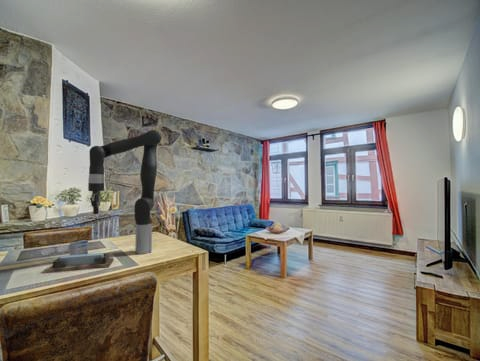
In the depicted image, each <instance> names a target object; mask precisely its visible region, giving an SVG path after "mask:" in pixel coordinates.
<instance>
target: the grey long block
mask: <svg viewBox="0 0 480 361" xmlns="http://www.w3.org/2000/svg"><path fill="white" fill-rule="evenodd" d="M104 254H105V253H104V252H99V253H97V252H94V253H88V254H82V255H70V254H69V255H61V256H60V257H61V258H60V260H59V261H63V260H66V266H71V265H82V264H94V258H100V257H104Z"/></svg>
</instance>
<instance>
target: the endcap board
mask: <svg viewBox="0 0 480 361" xmlns="http://www.w3.org/2000/svg"><path fill="white" fill-rule="evenodd" d="M61 257H62V256H59V257H58V258H56V259H55V260H53V261H52V265H51V266H49V267H48V268H46V270H45V273H46V274H49V273H50V274H51V273H60V272H70V271H81V270H94V268H95V269H102V268H103V269H105V268H110V267H111V265H112V264H113V262H114V257H110V253H109V252H107V253H104V257H100V258H94V264H82V265H71V266H66V260H63V261H59V260H60V258H61Z"/></svg>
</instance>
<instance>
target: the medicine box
mask: <svg viewBox="0 0 480 361" xmlns="http://www.w3.org/2000/svg"><path fill="white" fill-rule="evenodd" d="M88 250H89V240H88V239H86V240H85V239H83V240H82V239H81V240H78V241H74V242H71V243H69V255H82V254H89V253H88V252H89V251H88Z"/></svg>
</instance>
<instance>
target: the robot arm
mask: <svg viewBox="0 0 480 361" xmlns="http://www.w3.org/2000/svg"><path fill="white" fill-rule="evenodd" d="M162 139H163V138H162V134H161V133H160V131H158V130H156V129H150V130H148V131H146V132H145V133H144V132H143V133H141V134H140V135H137V136H132V137H129V138H125V139H120V140H116V141H112V142H109V143H107V144H103V145H100V146H99V145H94V146H92V147H90V149H89V172H88V184H87V187H88V188H87V190H88V192H91V195H90V199H89V200H90V204H91V207H92V208H93V210H92V214H93V215H99V212H100V211H99V210H100V208H99V207H100V206H101V202H102V198H103V197H102V194H101V192H104V191H105V164H104V163H105V158H108V157H110V156H114V155H118V154H121V153H122V154H123V153H126V152H127V151H128V152H129V151H131V150H134V149H137V148H140V147H143V155H142V159H141V166H140V172H139V173H140V174H139V175H140V183H141V197H140V198H138V199H137V200H136V201H135V203H134V220H135V243H134V244H135V248H134V249H135V250H134V252H135V254H139V255H141V254H142V255H143V254H149V253H152V251H153V250H152V249H153V234H152V233H153V218H152V217H151V212H152V210H153V209H154V205H155V186H156V179H157V172H158V171H157V170H158V164H157V148H158V145H159V144H160V143H161V141H162Z"/></svg>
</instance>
